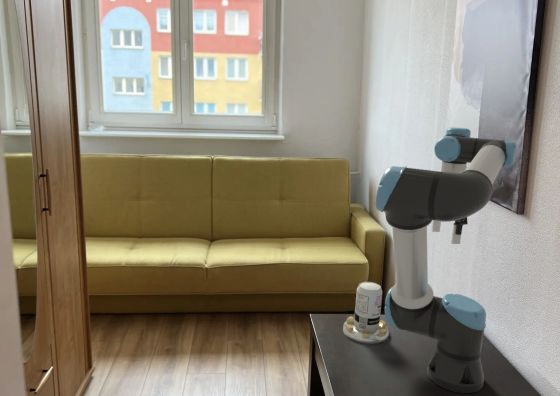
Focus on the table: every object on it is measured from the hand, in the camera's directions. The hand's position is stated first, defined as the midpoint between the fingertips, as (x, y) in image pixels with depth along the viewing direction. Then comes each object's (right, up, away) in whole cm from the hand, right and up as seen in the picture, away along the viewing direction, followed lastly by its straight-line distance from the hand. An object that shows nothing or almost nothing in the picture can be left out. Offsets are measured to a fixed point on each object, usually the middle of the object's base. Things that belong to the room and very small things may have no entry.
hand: (445, 237), depth 163 cm
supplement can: (-27, -30, -2) cm, 41 cm away
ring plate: (-27, -32, -2) cm, 42 cm away
